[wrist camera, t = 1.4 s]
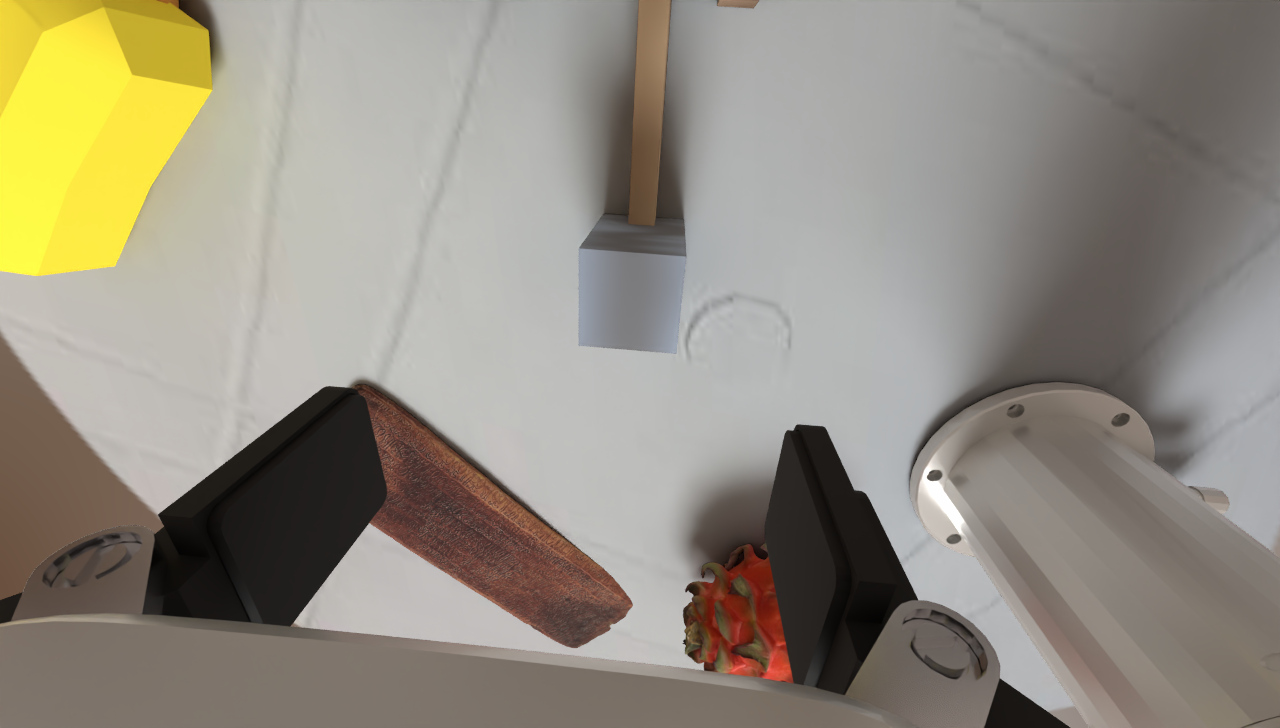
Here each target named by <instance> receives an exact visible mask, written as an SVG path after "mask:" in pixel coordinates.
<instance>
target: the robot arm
mask: <svg viewBox="0 0 1280 728" xmlns="http://www.w3.org/2000/svg"><path fill="white" fill-rule="evenodd" d="M1154 458H1155V450H1154V439H1153V437H1152V434H1151V432H1150V429H1149V427H1148V424H1147V423H1146V422H1145V421H1144V420H1143V418H1142V417H1141V416H1140V415H1139V414H1138V412H1137V411H1135V410H1134V409H1132V408H1131V407H1130V406H1128V405H1127V404H1125V403H1124V402H1122V401H1121V400H1120V399H1118V398H1116V397H1114V396H1112V395H1111V394H1109V393H1107V392H1105V391H1103V390H1101V389H1097V388H1093V387H1090V386H1086V385H1082V384H1075V383H1063V382H1052V383H1039V384H1031V385H1026V386H1022V387H1017V388H1013V389H1009V390H1006V391H1003V392H1000V393H998V394H995V395H992V396H990V397H987V398H985V399H983V400H981V401H979V402H977V403H975V404H973V405H972V406H970V407H968V408H966V409H964V410H963V411H961V412H960V413H959V414H957V415H956V416H955V417H953V418H952V419H950V420H949V421H948V422H946V423H945V424H944V425H943V426H942V427H941V428H940V429H939V430H938V431H937V432H936V433H935V434H934V435H933V436H932V437H931V438H930V440H929V441H928V443H927V444H926V445H925V447H924V448H923V449H922V451H921V452H920V454H919V456H918V458H917V461H916V463H915V465H914V467H913V470H912V475H911V480H910V499H911V502H912V505H913V508H914V511H915V513H916V515H917V516H918V518H919V519H920V521H921V523H922V525H923V526H924V528H925V529H926V530H927V531H928V532H929V534H930V535H931V536H932V537H933V538H934V539H935V540H937V541H938V542H939V543H941V544H942V545H943V546H945V547H947V548H949V549H952V550H954V551H956V552H959V553H961V554H964V555H968V556H972V557H976V559H977V560H978V562H979V563H980V565H981V566H982V568H983V569H984V571H985V572H986V574H987V575H988V577H989V578H990V580H991V581H992V583H993V584H994V586H995V587H996V589H997V590H998V592H999V593H1000V595H1001V596H1002V598H1003V599H1004V601H1005V602H1006V604H1007V605H1008V607H1009V608H1010V610H1011V611H1012V613H1013V614H1014V616H1015V617H1016V618H1017V620H1018V621H1019V623H1020V624H1021V626H1022V627H1023V629H1024V630H1025V632H1026V633H1027V635H1028V636H1029V638H1030V639H1031V641H1032V642H1033V644H1034V645H1035V647H1036V648H1037V650H1038V651H1039V653H1040V654H1041V656H1042V657H1043V659H1044V660H1045V662H1046V663H1047V665H1048V666H1049V668H1050V669H1051V671H1052V672H1053V674H1054V675H1055V677H1056V678H1057V680H1058V681H1059V683H1060V684H1061V686H1062V687H1063V689H1064V690H1065V692H1066V693H1067V695H1068V696H1069V698H1070V699H1071V701H1072V702H1073V704H1074V705H1075V707H1076V708H1077V710H1078V711H1079V713H1080V714H1081V716H1082V717H1083V719H1084V720H1085V722H1086V723H1087V725H1088V726H1089V728H1280V557H1279V556H1277V555H1276V554H1274V553H1273V552H1272V551H1270V550H1269V549H1268V548H1266V547H1265V546H1264V545H1262V544H1261V543H1260V542H1258V541H1257V540H1256V539H1254V538H1253V537H1252V536H1250V535H1249V534H1248V533H1246V532H1245V531H1243V530H1242V529H1241V528H1239V527H1238V526H1237V525H1235V524H1234V523H1233V522H1231V521H1230V520H1229V519H1227V518H1226V517H1225V516H1223V515H1222V514H1223V513H1224V512H1226V511H1227V510H1228V508H1229V505H1230V504H1229V500H1228V497H1227V496H1226V495H1225V494H1224V493H1223V492H1222V491H1220V490H1218V489H1215V488H1205V487H1194V486H1188V487H1187V486H1186V485H1184V484H1183V483H1182V482H1180V481H1179V480H1177V479H1176V478H1175V477H1173V476H1172V475H1171V474H1169V473H1168V472H1167V471H1165V470H1164V469H1163V468H1161V467H1160V466H1158V465H1157V464H1156V463H1154ZM386 496H387V486H386V481H385V477H384V473H383V469H382V465H381V460H380V456H379V452H378V448H377V444H376V439H375V435H374V431H373V427H372V422H371V418H370V414H369V410H368V406H367V402H366V399H365V398H364V396H361V395H360V394H359V392H358V391H357V390H356V389H354V388H345V387H332V386H327V387H324V388H322V389H321V390H320V391H318V392H317V393H316V394H314V395H313V396H312V397H311V398H309V399H308V400H307V401H305V402H304V403H303V404H301V405H300V406H299V407H298V408H296V409H295V410H294V411H292V412H291V413H290V414H288V415H287V416H286V417H284V418H283V419H282V420H281V421H279V422H278V423H277V424H275V425H274V426H273V427H271V428H270V429H269V430H268V431H266V432H265V433H264V434H262V435H261V436H260V437H258V438H257V439H256V440H255V441H253V442H252V443H251V444H249V445H248V446H247V447H245V448H244V449H243V450H241V451H240V452H239V453H238V454H236V455H235V456H234V457H232V458H231V459H230V460H228V461H227V462H226V463H225V464H223V465H222V466H221V467H219V468H218V469H217V470H215V471H214V472H213V473H211V474H210V475H209V476H208V477H206V478H205V479H204V480H202V481H201V482H200V483H198V484H197V485H196V486H195V487H193V488H192V489H191V490H189V491H188V492H187V493H185V494H184V495H183V496H182V497H180V498H179V499H178V500H176V501H175V502H174V503H172V504H171V505H170V506H168V507H167V508H166V509H165V510H163V511H162V512H161V513H159V514H158V516H159V517H160V519H161V521H162V523H163V525H164V527H163V528H162V529H161V530H160V531H158V532H157V533H156V534H154V532H153V531H152V530H150V529H149V528H147V527H144V526H139V525H127V526H118V527H113V528H110V529H105V530H102V531H99V532H96V533H93V534H90V535H87V536H85V537H83V538H80V539H78V540H77V541H74V542H72V543H70V544H68V545H66V546H64V547H63V548H61V549H60V550H58V551H57V552H55V553H54V554H52V555H50V556H49V557H48V558H47V559H45V560H44V561H43V562H42V563H41V564H40V565H39V566H38V567H37V568H35V570H34V572H33V573H32V574H31V576H30V578H29V579H28V581H27V583H26V586H25V588H24V591H23V592H22V593H19V594H16V595H13V596H11V597H8V598H5V599H2V600H0V728H1070V727H1069V726H1067V725H1066V724H1064V723H1063V722H1062V721H1060V720H1059V719H1057V718H1056V717H1054V716H1053V715H1051V714H1050V713H1049V712H1047V711H1046V710H1044V709H1043V708H1042V707H1040V706H1039V705H1037V704H1036V703H1034V702H1033V701H1032V700H1030V699H1029V698H1027V697H1026V696H1024V695H1023V694H1022V693H1020V692H1019V691H1017V690H1016V689H1014V688H1013V687H1012V686H1010V685H1009V684H1007V683H1006V682H1004V681H1003V680H1002V679H1000V663H999V660H998V657H997V655H996V652H995V650H994V648H993V647H992V645H991V644H990V642H989V641H988V639H987V638H986V636H985V635H984V634H983V633H982V632H981V631H980V630H979V629H978V628H977V627H976V626H975V625H974V624H973V623H971V622H970V621H968V620H967V619H966V618H964V617H963V616H961V615H960V614H959V613H957V612H955V611H953V610H951V609H949V608H947V607H945V606H943V605H940V604H937V603H933V602H929V601H920V600H918V598H917V596H916V594H915V592H914V590H913V588H912V586H911V584H910V582H909V580H908V578H907V576H906V574H905V572H904V570H903V568H902V566H901V564H900V561H899V559H898V557H897V555H896V553H895V551H894V549H893V547H892V545H891V543H890V541H889V539H888V537H887V535H886V533H885V531H884V529H883V527H882V525H881V523H880V520H879V518H878V516H877V514H876V512H875V510H874V508H873V506H872V504H871V502H870V500H869V498H868V497H867V495H866V494H865V493H864V492H862V491H854V489H853V486H852V484H851V482H850V480H849V478H848V476H847V473H846V471H845V469H844V467H843V465H842V463H841V460H840V458H839V456H838V454H837V452H836V449H835V447H834V445H833V443H832V441H831V439H830V436H829V434H828V432H827V430H826V428H825V427H823V426H810V425H796V426H795V428H794V431H790V430H787V431H786V433H785V436H784V440H783V445H782V449H781V454H780V458H779V463H778V467H777V472H776V476H775V481H774V485H773V490H772V494H771V499H770V503H769V508H768V513H767V517H766V522H765V541H766V546H767V551H768V556H769V561H770V566H771V571H772V577H773V582H774V587H775V592H776V597H777V602H778V607H779V612H780V617H781V622H782V627H783V632H784V637H785V642H786V647H787V652H788V658H789V663H790V668H791V673H792V678H793V683H788V682H782V681H776V680H771V679H765V678H758V677H750V676H743V675H735V674H727V673H719V672H711V671H703V670H695V669H688V668H680V667H672V666H663V665H654V664H645V663H635V662H626V661H617V660H608V659H599V658H590V657H581V656H572V655H562V654H553V653H544V652H535V651H526V650H516V649H506V648H497V647H487V646H478V645H468V644H459V643H449V642H439V641H430V640H420V639H410V638H400V637H391V636H381V635H371V634H361V633H351V632H341V631H330V630H320V629H310V628H300V627H290V626H291V625H292V624H293V622H294V621H295V620H296V618H297V617H298V616H299V614H300V613H301V612H302V611H303V609H304V608H305V607H306V605H307V604H308V603H309V601H310V600H311V599H312V597H313V596H314V595H315V593H316V592H317V591H318V589H319V588H320V587H321V586H322V584H323V583H324V582H325V580H326V579H327V578H328V576H329V575H330V574H331V572H332V571H333V570H334V568H335V567H336V566H337V565H338V563H339V562H340V561H341V559H342V558H343V557H344V555H345V554H346V553H347V551H348V550H349V549H350V547H351V546H352V545H353V544H354V542H355V541H356V540H357V538H358V537H359V536H360V534H361V533H362V532H363V530H364V529H365V528H366V526H367V525H368V524H369V522H370V521H371V520H372V519H373V517H374V516H375V515H376V513H377V512H378V511H379V509H380V508H381V507H382V505H383V504H384V502H385V500H386Z"/></svg>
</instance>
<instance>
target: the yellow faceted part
mask: <svg viewBox="0 0 1280 728" xmlns="http://www.w3.org/2000/svg"><path fill="white" fill-rule="evenodd" d="M212 90H213V89H212V74H211V58H210V43H209V30H207V29H206V28H204V27H203V26H202V25H200V24H199V23H198V22H196V21H195V20H194V19H192V18H191V17H189V16H188V15H187V14H185V13H184V12H183V11H181V10H180V9H179V3H178V0H0V271H5V272H12V273H20V274H27V275H34V276H41V275H48V274H56V273H64V272H72V271H80V270H88V269H96V268H104V267H112V266H115V265H116V263H117V261H118V259H119V256H120V254H121V252H122V250H123V247H124V245H125V243H126V241H127V238H128V236H129V234H130V232H131V230H132V227H133V225H134V223H135V221H136V218H137V216H138V214H139V212H140V209H141V207H142V205H143V203H144V200H145V198H146V196H147V194H148V192H149V189H150V187H151V185H152V184H153V182H154V181H155V179H156V178H157V176H158V175H159V173H160V171H161V170H162V168H163V167H164V165H165V164H166V162H167V160H168V159H169V157H170V156H171V154H172V153H173V151H174V149H175V148H176V146H177V145H178V143H179V142H180V140H181V139H182V137H183V135H184V134H185V132H186V131H187V129H188V128H189V126H190V124H191V123H192V121H193V120H194V118H195V117H196V115H197V113H198V112H199V110H200V109H201V107H202V106H203V104H204V103H205V101H206V99H207V98H208V96H209V95H210V93H211V92H212Z"/></svg>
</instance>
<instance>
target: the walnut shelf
mask: <svg viewBox="0 0 1280 728" xmlns="http://www.w3.org/2000/svg"><path fill="white" fill-rule="evenodd" d="M758 1H759V0H718V3H717V6H724V7H741V8H754V7H755V6H756V4H757V3H758Z"/></svg>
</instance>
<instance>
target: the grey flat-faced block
mask: <svg viewBox="0 0 1280 728" xmlns="http://www.w3.org/2000/svg"><path fill="white" fill-rule="evenodd" d="M671 2H672V0H639V8H638V29H637V50H636V71H635V93H634V114H633V135H632V156H631V177H630V199H629V216H628V215H614V214H603V216H602V217H601V218H600V220H599V221H598V223H597V224H596V225H595V227H594V228H593V230H592V231H591V232H590V234H589V235H588V237H587V238H586V239H585V241H584V242H583V243H582V245H581V246H580V248H579V346H590V347H602V348H614V349H626V350H638V351H650V352H662V353H674V354H676V351H677V342H678V332H679V322H680V313H681V303H682V293H683V283H684V274H685V264H686V243H685V226H684V220H682V219H669V218H656V210H657V196H658V182H659V168H660V155H661V141H662V127H663V113H664V99H665V85H666V71H667V57H668V44H669V30H670V16H671Z"/></svg>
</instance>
